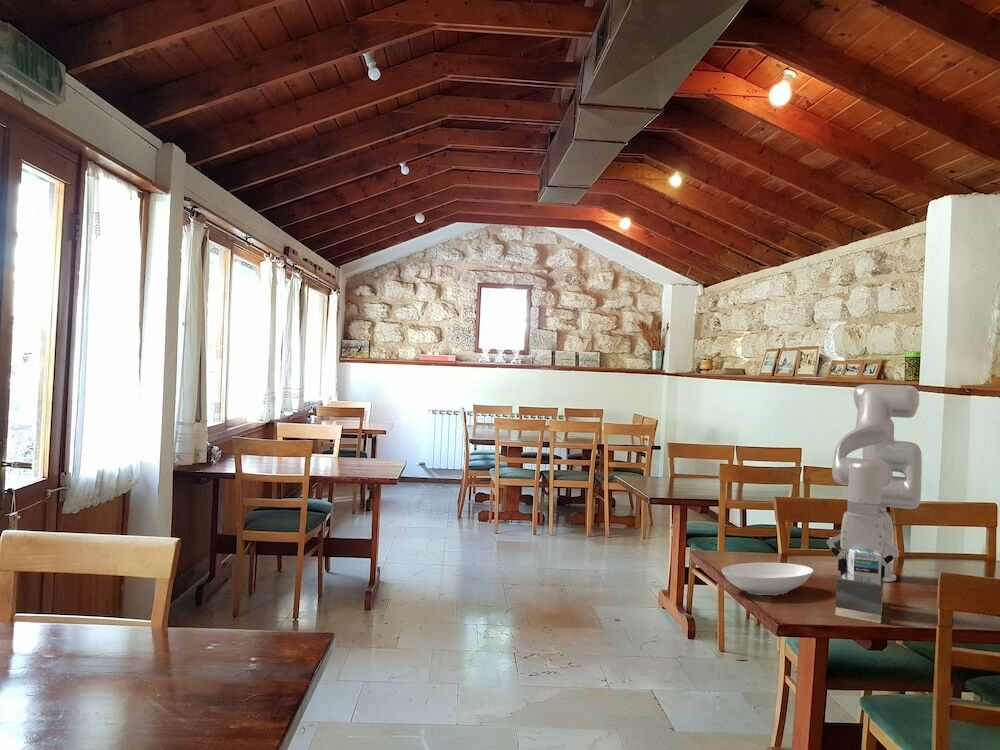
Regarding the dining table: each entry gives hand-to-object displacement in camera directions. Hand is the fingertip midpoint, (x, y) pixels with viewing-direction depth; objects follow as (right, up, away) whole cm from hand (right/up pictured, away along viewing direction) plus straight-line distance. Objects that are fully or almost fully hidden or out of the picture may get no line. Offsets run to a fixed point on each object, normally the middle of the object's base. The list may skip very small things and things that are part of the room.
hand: (860, 576), depth 182 cm
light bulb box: (0, -4, 0) cm, 4 cm away
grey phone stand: (0, -8, 0) cm, 8 cm away
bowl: (-20, -8, +12) cm, 24 cm away
